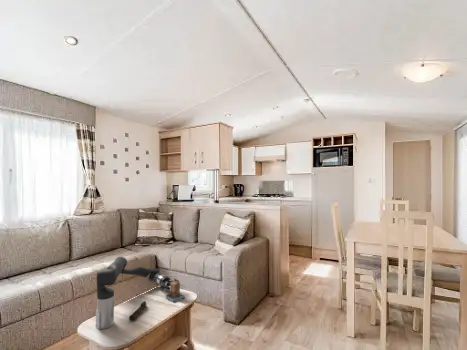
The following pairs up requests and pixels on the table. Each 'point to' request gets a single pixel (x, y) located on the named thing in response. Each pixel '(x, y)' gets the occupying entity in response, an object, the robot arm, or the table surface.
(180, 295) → the tray
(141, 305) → the brown rough rod
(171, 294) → the walnut block
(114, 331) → the table surface
